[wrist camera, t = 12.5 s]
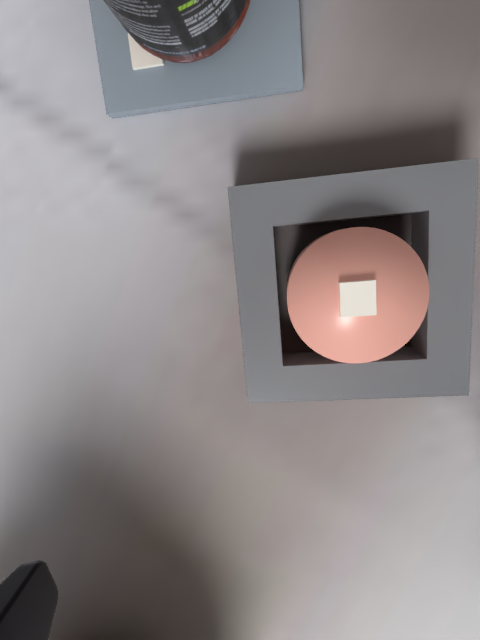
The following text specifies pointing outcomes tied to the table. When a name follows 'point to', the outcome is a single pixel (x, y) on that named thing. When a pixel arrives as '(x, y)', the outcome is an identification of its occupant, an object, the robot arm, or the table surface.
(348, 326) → the one-pip button
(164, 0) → the supplement bottle
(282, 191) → the button housing
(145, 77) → the two-pip tile
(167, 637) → the table surface
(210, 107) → the table surface
